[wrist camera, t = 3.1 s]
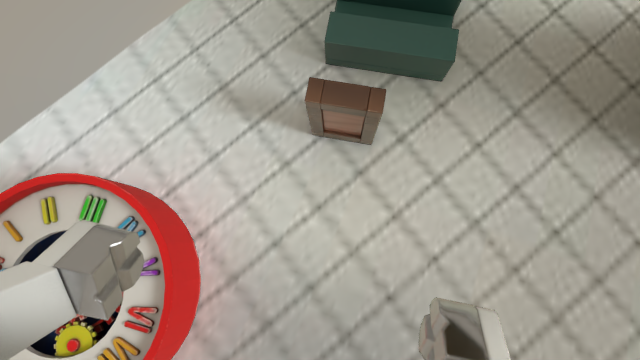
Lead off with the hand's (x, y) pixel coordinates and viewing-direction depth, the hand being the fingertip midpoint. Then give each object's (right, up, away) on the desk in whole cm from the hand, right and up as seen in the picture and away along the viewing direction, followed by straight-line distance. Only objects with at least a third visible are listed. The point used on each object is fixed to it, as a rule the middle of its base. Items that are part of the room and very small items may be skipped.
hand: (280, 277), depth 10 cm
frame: (+3, +8, +27) cm, 28 cm away
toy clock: (-20, -8, +25) cm, 33 cm away
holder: (+8, +19, +28) cm, 35 cm away
